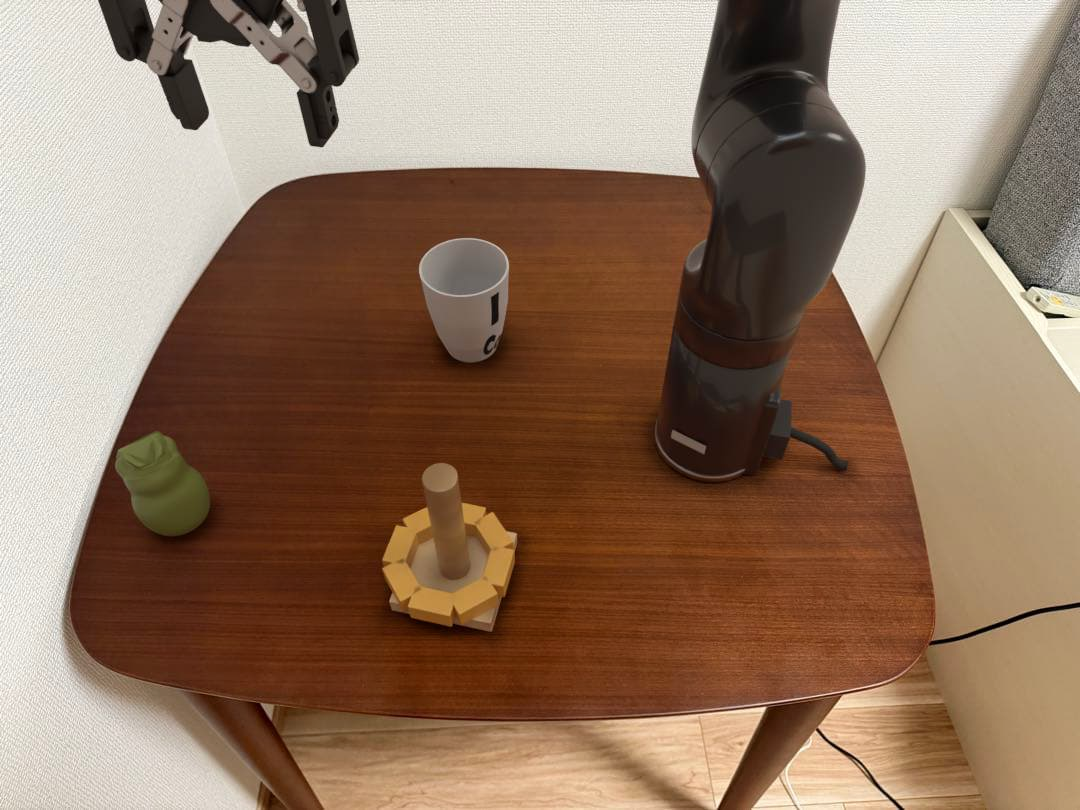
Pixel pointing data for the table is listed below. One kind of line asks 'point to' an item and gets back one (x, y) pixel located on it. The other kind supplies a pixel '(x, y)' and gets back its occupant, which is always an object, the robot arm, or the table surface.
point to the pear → (163, 485)
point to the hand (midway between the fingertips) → (259, 131)
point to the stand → (449, 544)
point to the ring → (470, 597)
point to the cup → (466, 295)
